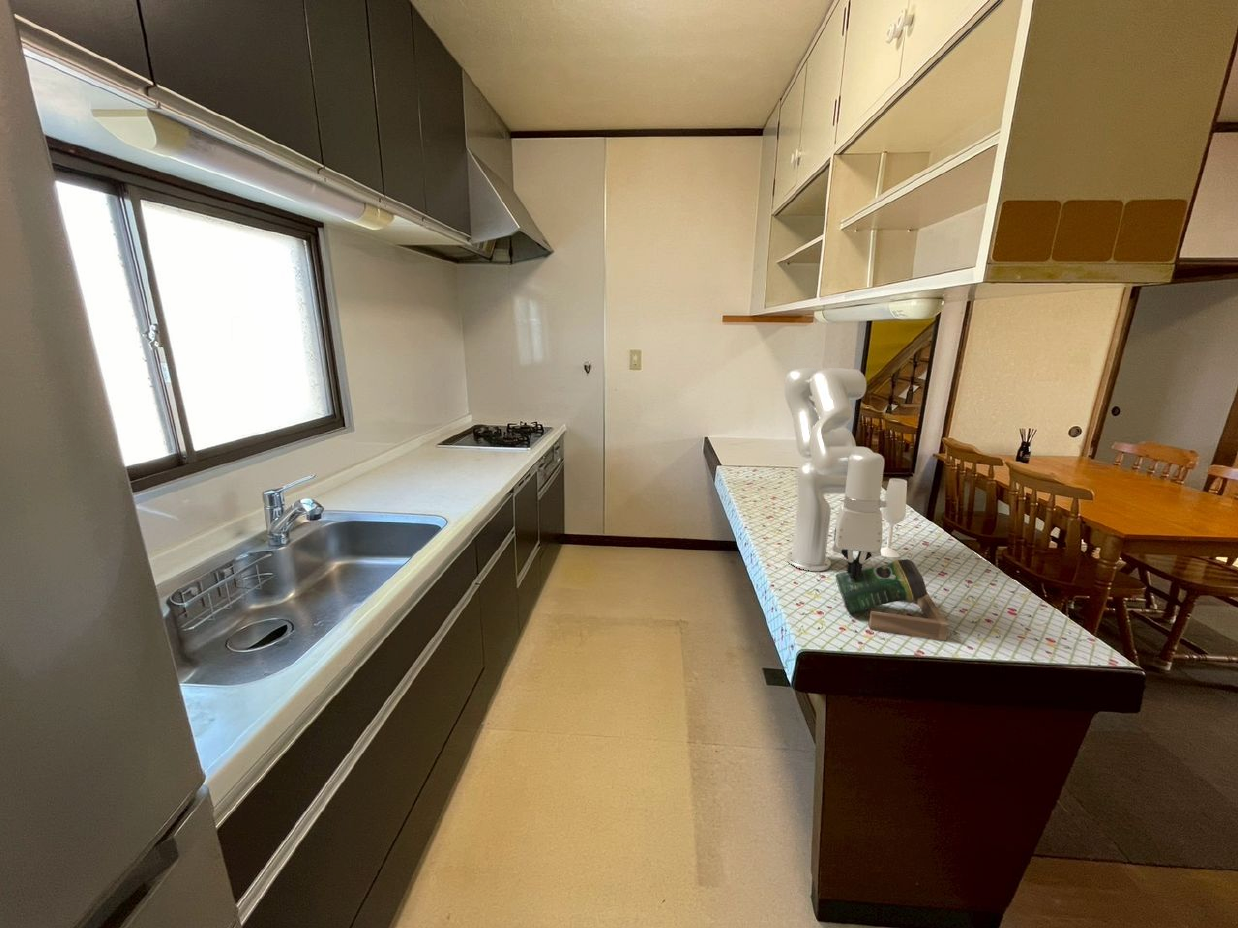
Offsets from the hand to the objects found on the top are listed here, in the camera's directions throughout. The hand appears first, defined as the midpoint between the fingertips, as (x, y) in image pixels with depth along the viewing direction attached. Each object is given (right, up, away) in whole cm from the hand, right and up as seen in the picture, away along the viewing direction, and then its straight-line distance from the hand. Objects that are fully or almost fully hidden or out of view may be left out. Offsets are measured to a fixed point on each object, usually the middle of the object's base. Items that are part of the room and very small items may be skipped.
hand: (853, 576), depth 120 cm
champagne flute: (+28, -1, +36) cm, 46 cm away
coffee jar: (-2, -5, +3) cm, 6 cm away
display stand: (+10, -10, +1) cm, 14 cm away
